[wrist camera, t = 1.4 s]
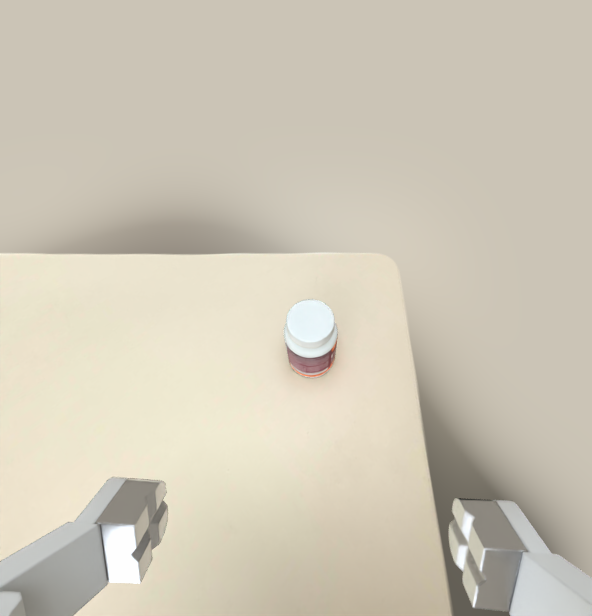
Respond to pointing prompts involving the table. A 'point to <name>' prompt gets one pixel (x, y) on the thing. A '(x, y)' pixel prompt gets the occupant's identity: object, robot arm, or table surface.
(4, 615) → the robot arm
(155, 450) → the table surface
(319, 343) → the pill bottle
